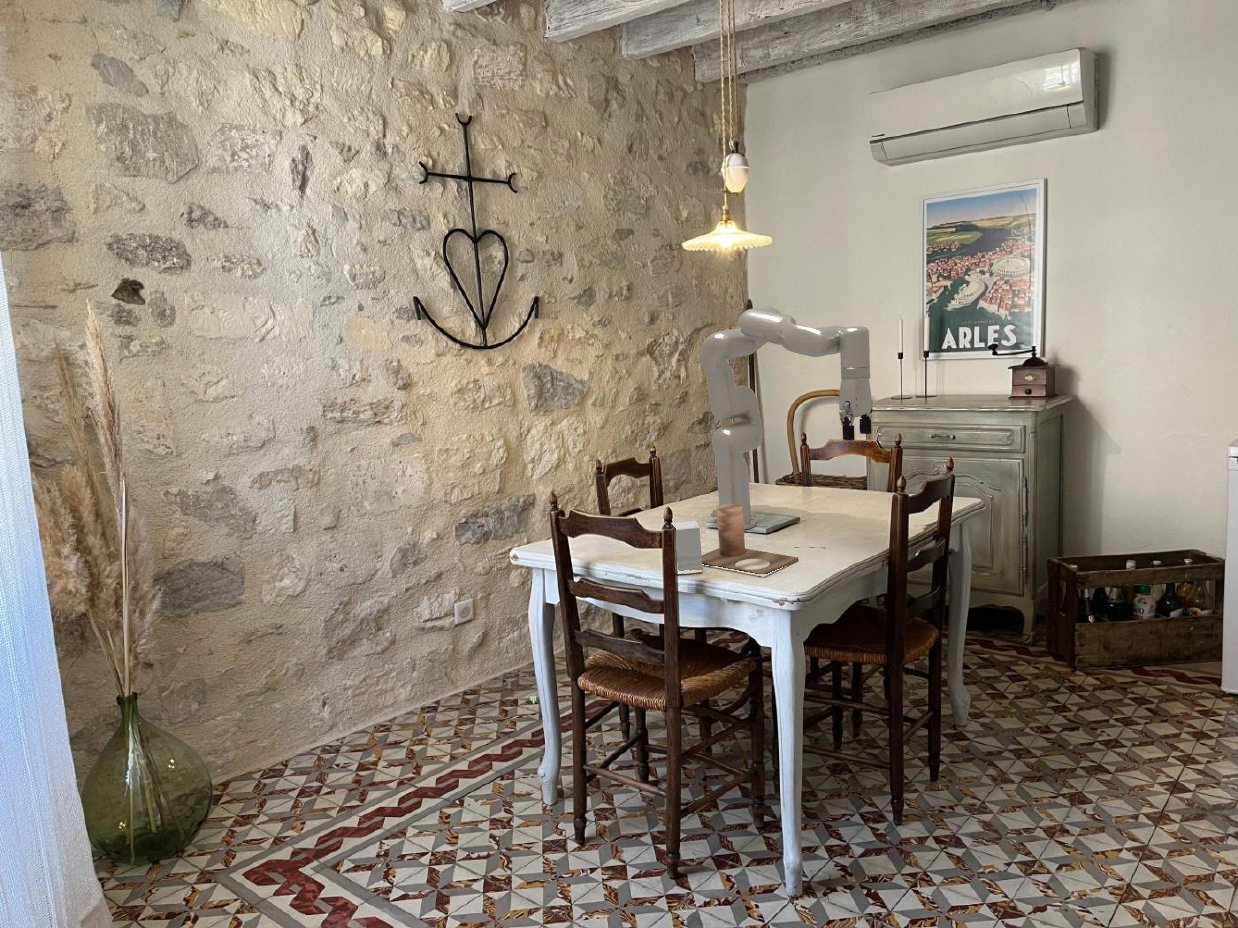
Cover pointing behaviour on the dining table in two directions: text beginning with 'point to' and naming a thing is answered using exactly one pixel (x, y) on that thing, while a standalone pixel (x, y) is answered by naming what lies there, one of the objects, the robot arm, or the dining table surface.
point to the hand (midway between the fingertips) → (857, 436)
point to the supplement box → (688, 546)
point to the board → (748, 555)
